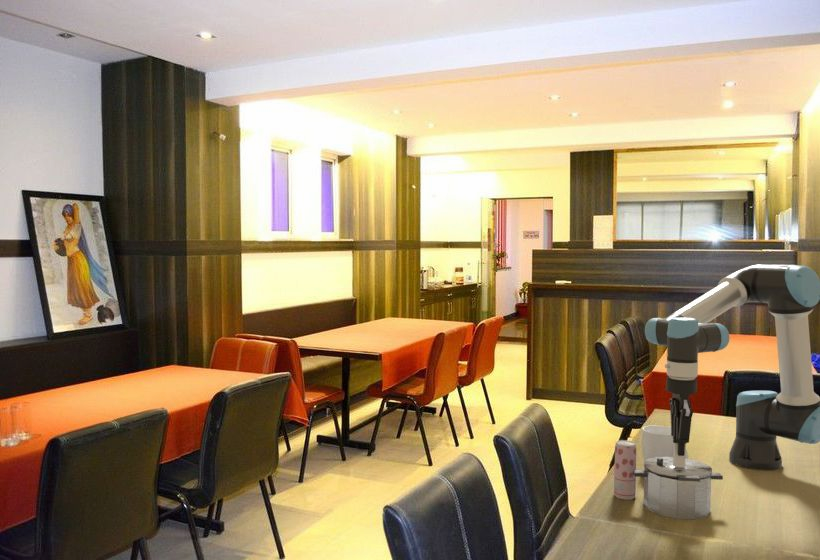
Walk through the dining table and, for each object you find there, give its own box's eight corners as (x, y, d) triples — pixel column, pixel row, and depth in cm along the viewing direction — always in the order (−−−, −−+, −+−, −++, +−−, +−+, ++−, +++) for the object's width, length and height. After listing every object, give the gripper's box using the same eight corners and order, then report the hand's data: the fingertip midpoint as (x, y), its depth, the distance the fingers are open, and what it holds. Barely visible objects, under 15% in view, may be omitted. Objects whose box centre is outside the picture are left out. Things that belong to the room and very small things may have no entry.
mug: (698, 476, 210) (699, 434, 209) (675, 483, 204) (676, 439, 203) (656, 463, 222) (657, 423, 222) (633, 469, 216) (634, 428, 215)
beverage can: (609, 494, 195) (610, 441, 194) (625, 491, 197) (626, 439, 196) (623, 501, 190) (624, 446, 189) (639, 498, 192) (641, 444, 191)
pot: (710, 498, 192) (711, 462, 192) (731, 521, 176) (732, 482, 176) (626, 494, 194) (627, 459, 194) (640, 517, 178) (641, 478, 178)
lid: (699, 461, 193) (699, 451, 193) (724, 483, 173) (724, 472, 173) (636, 459, 195) (636, 449, 195) (655, 480, 175) (655, 470, 175)
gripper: (660, 372, 188) (658, 458, 190) (673, 381, 175) (671, 474, 177) (689, 373, 188) (686, 459, 189) (704, 382, 175) (701, 475, 176)
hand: (679, 466), depth 183 cm, fingers closed
